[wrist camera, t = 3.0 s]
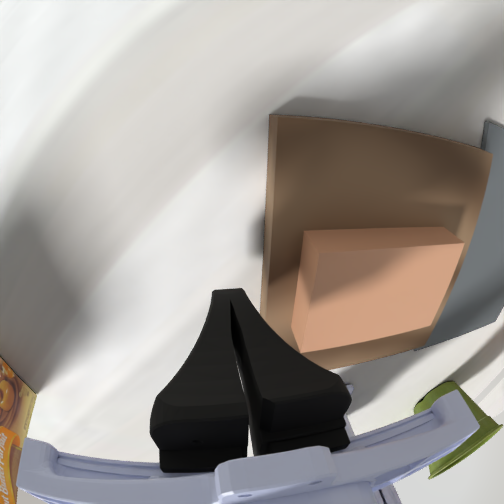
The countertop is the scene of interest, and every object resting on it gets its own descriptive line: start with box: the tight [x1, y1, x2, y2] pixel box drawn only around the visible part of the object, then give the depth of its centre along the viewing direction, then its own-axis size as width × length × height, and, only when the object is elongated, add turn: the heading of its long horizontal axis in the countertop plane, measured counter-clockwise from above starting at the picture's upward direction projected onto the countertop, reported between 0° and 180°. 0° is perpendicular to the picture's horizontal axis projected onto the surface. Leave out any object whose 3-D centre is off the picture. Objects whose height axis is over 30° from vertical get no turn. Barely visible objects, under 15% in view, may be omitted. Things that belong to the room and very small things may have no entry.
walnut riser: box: [260, 114, 493, 370], centre depth 16 cm, size 16×14×2 cm
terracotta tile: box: [291, 227, 465, 353], centre depth 15 cm, size 6×9×2 cm, turn 88°
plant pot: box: [414, 381, 503, 479], centre depth 27 cm, size 12×12×11 cm
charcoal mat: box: [413, 121, 504, 351], centre depth 19 cm, size 20×14×1 cm
